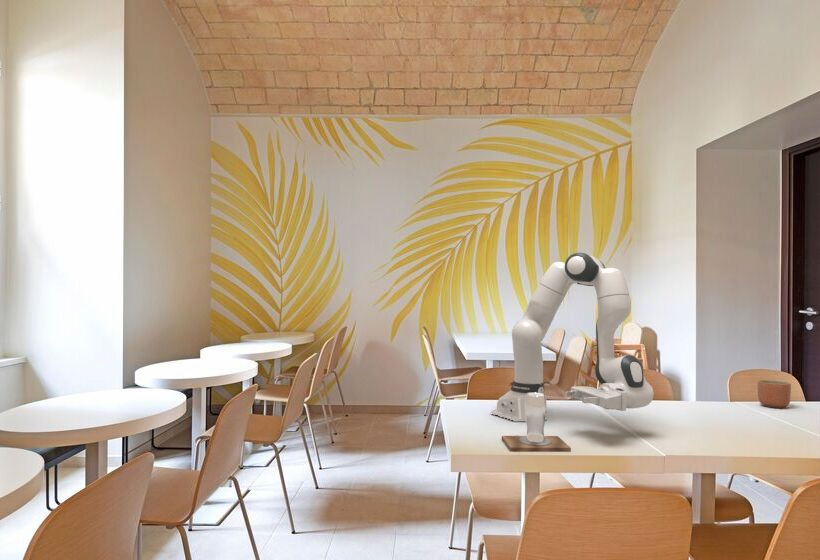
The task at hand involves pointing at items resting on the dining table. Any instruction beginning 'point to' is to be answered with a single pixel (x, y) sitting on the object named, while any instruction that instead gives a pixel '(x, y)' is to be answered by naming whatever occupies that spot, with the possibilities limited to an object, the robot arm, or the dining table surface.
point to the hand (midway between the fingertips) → (574, 397)
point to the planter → (774, 393)
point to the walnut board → (536, 444)
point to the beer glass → (535, 416)
